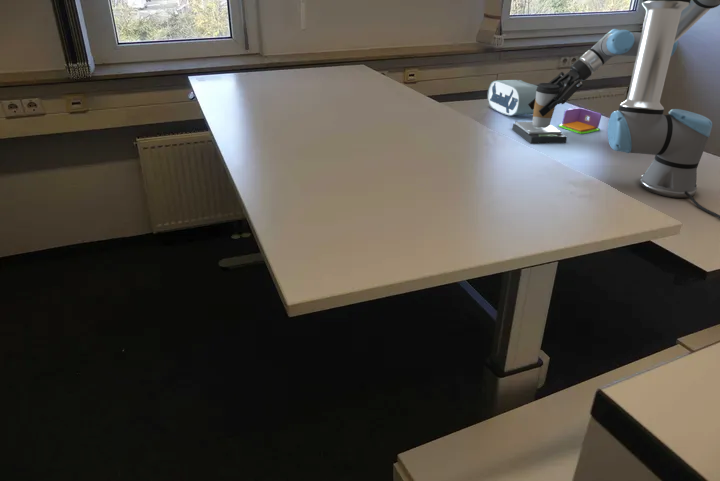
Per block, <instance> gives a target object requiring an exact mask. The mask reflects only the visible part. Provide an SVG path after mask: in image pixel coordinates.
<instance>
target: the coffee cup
mask: <svg viewBox="0 0 720 481" xmlns="http://www.w3.org/2000/svg"><path fill="white" fill-rule="evenodd" d="M537 86H538V87H537V89H536V99H535V105H534V112H533V114H532V121H531V122H532V123H533V125H534V126H537V127H548V126H549V125H551V121H552V119H553V115H554V111H555V108H556V106H555V107H554V108H553V109H551V110H550V111H549V112H548V113H547V114H546V115H544V116H542V115H541V114H540V113H539V110H540V109H541V108H542V107H544V106H545V105H546V104H547V103H548V102H549V101H550V100H552V99H554V97H556V96H557V95H558V93H559V92H560V91H561V88H559V85H556V84H552V83H549V82H540V83H538V84H537ZM554 100H555V99H554Z"/></svg>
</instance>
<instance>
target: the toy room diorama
mask: <svg viewBox="0 0 720 481" xmlns="http://www.w3.org/2000/svg"><path fill="white" fill-rule="evenodd" d="M601 119H602V113H600V112H597V111H593V110H591V109H590V110H589V109H588V108H583V107H575V108H569V109H565V110H564V112H563V117H562V121H561V123H559V124H558V127H559V128H561V129H565V130H568V131H571V132H573V133H576V134H579V135H585V134H590V133H595V132H599V131H600V128H599V126H600V122H601Z"/></svg>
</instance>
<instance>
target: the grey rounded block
mask: <svg viewBox="0 0 720 481" xmlns="http://www.w3.org/2000/svg"><path fill="white" fill-rule="evenodd" d="M537 87H538V85H536V84H532V83H529V82H527V81H523V80H522V79H501V80H493V81H492V82H491V83H490V84H489V86H488V89H487V92H486V93H487V94H486V95H487V96H486V99H487V103H488V105H489V107H490V108H492V109H493V110H494V111H496V112H498V113H500V114H502V115H506V116H510V117H511V116H522V115H523V116H524V115H533V112H534V109H533V110H532V109H531V108H530V107H529V105H528V104H529V103H530V102H531V101H532V100H534V99H535V98H536V89H537Z"/></svg>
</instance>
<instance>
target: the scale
mask: <svg viewBox="0 0 720 481" xmlns="http://www.w3.org/2000/svg"><path fill="white" fill-rule="evenodd" d="M532 122H533V121H515V122H514V123H513V124H512V129H511V130H512V131H514V132H515V133H516V134H518V135H519V136H520V137H522V138H523V139H524V140H525V141H527V142H528V143H529V144H533V145H537V144H566V143H567V139H568V136H567V135H565V134H564V133H563V131H561V130H560V129H558V128H557V127H555V126H554V125H552V124H550V125H549V126H548V127H537V126H534V125H533V123H532Z"/></svg>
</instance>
